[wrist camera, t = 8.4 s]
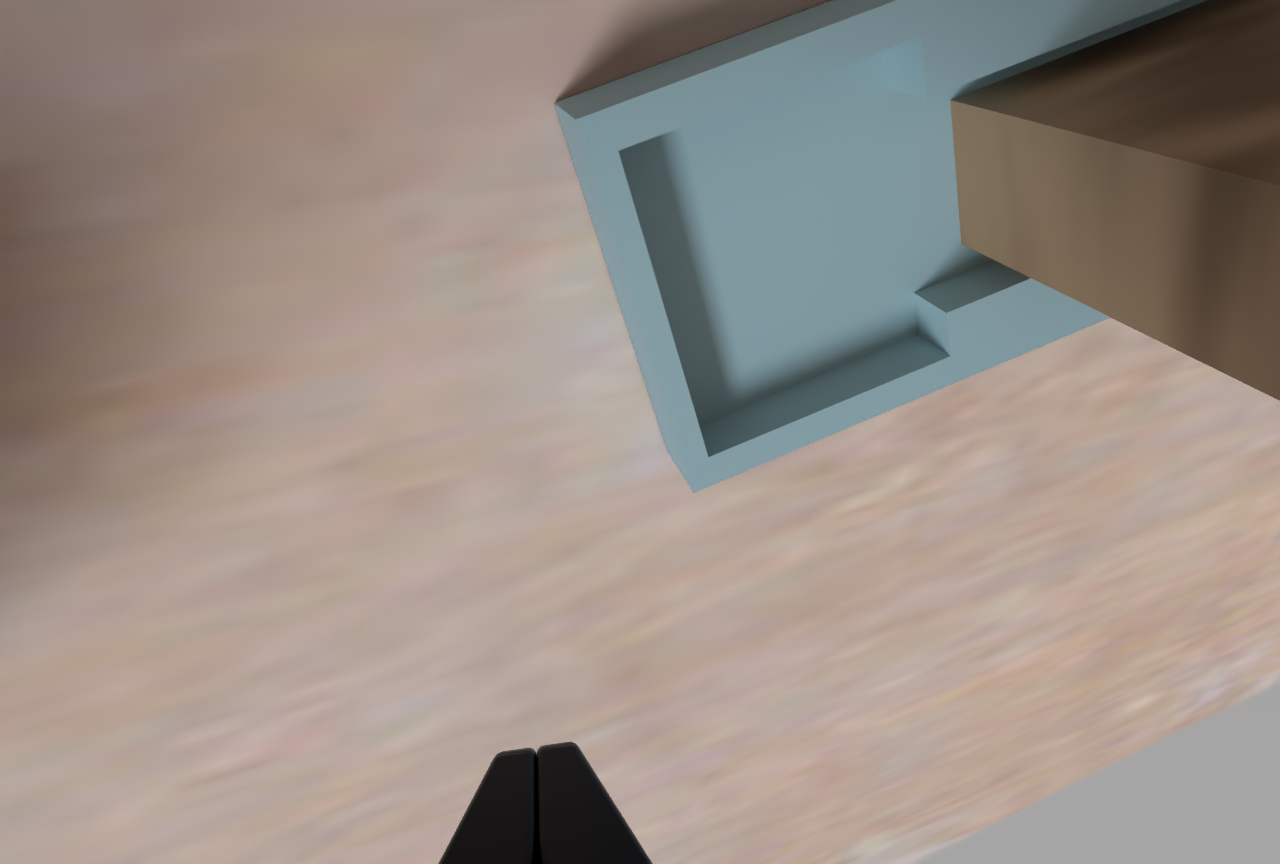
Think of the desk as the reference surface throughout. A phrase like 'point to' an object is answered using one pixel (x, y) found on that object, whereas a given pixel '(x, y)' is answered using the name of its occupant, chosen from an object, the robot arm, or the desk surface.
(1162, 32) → the brown wooden block
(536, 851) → the robot arm
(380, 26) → the desk surface
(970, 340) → the slot base
